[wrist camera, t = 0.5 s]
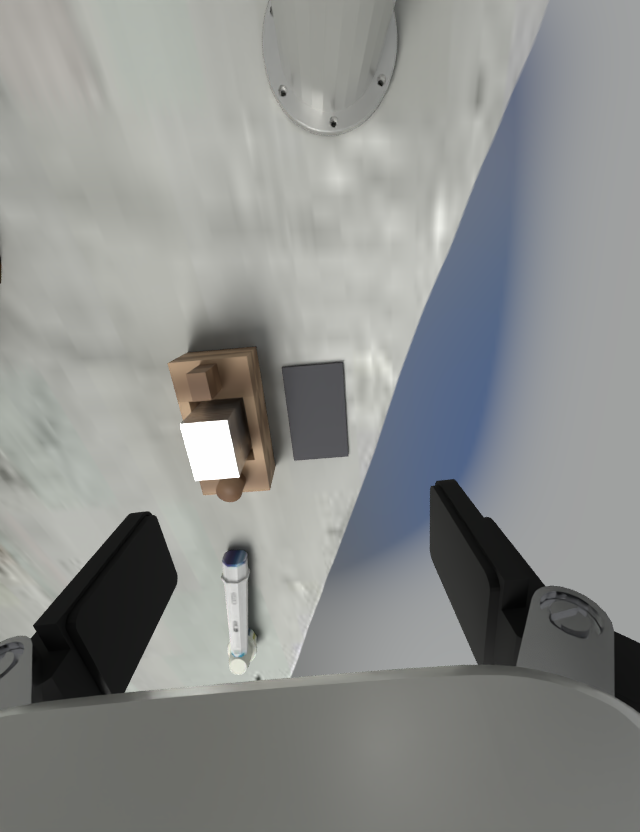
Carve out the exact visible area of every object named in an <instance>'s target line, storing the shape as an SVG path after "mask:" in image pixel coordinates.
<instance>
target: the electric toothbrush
mask: <svg viewBox="0 0 640 832" xmlns="http://www.w3.org/2000/svg"><path fill="white" fill-rule="evenodd" d="M222 562H223V574H222V576H221V579H222V581H223V582H224V589H225V598H226V607H227V617H228V626H229V636H230V642H229V644H228V647H227V648H228V655H229V668H230V670H231V672H232V673H234V674H236V675H241V674H243V673H245V671H246V670H247V668H248V667H249V664H250V662H251V661H253V659H254V657H255V656H256V652H257V644H256V642H257V635H255V633H254V632H253V630H252V629H249V628H248V577H249V574H250V569H249V568H248V558H247V553H246V552H245V551H244V550H230V551H228V552H226V553H225V554H224V557H223V559H222Z"/></svg>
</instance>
